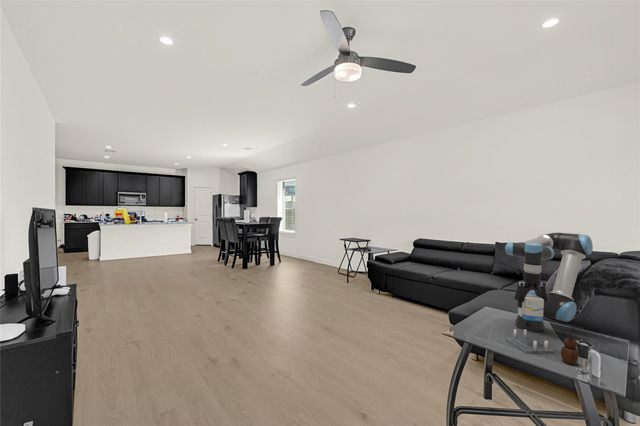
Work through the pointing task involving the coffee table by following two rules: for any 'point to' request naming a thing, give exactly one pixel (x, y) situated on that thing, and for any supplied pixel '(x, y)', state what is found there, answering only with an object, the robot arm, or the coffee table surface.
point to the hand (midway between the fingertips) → (530, 313)
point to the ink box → (533, 308)
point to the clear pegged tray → (529, 344)
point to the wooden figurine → (570, 351)
